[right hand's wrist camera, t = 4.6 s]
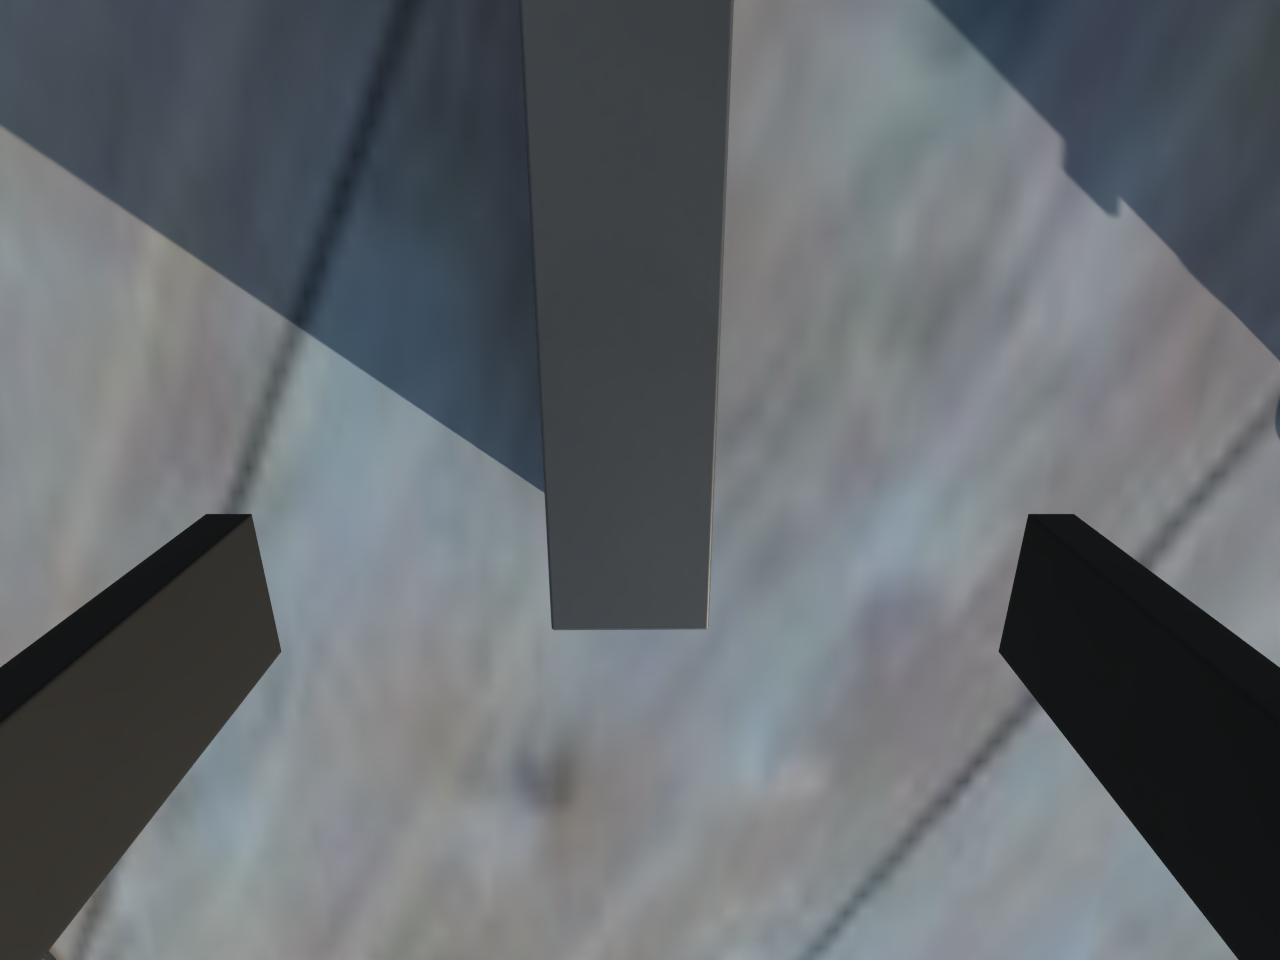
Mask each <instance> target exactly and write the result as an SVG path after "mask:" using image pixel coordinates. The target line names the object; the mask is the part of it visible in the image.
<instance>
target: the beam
mask: <svg viewBox="0 0 1280 960" xmlns="http://www.w3.org/2000/svg"><path fill="white" fill-rule="evenodd" d="M519 6H520V26H521V45H522V64H523V84H524V103H525V122H526V141H527V161H528V180H529V199H530V219H531V238H532V257H533V276H534V296H535V315H536V334H537V354H538V373H539V392H540V411H541V431H542V450H543V469H544V489H545V508H546V527H547V546H548V566H549V585H550V604H551V624H552V629H553V630H664V629H707V628H708V626H709V603H710V578H711V553H712V528H713V503H714V478H715V453H716V429H717V404H718V379H719V354H720V329H721V304H722V280H723V255H724V230H725V205H726V180H727V155H728V130H729V106H730V81H731V56H732V31H733V6H734V0H519Z"/></svg>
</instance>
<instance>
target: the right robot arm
mask: <svg viewBox="0 0 1280 960" xmlns="http://www.w3.org/2000/svg"><path fill="white" fill-rule="evenodd" d="M280 653H281V648H280V643H279V639H278V634H277V629H276V625H275V620H274V616H273V611H272V606H271V602H270V597H269V593H268V588H267V583H266V579H265V574H264V569H263V565H262V560H261V556H260V551H259V546H258V542H257V537H256V533H255V528H254V523H253V519H252V514H206V515H204V516H203V517H202V518H200V519H199V520H198V521H196V522H195V523H194V524H192V525H191V526H190V527H188V528H187V529H186V530H184V531H183V532H182V533H180V534H179V535H178V536H176V537H175V538H174V539H172V540H171V541H170V542H168V543H167V544H165V545H164V546H163V547H161V548H160V549H159V550H157V551H156V552H155V553H153V554H152V555H151V556H149V557H148V558H147V559H145V560H144V561H143V562H141V563H140V564H139V565H137V566H136V567H135V568H133V569H132V570H131V571H129V572H128V573H127V574H125V575H124V576H123V577H121V578H120V579H119V580H117V581H116V582H115V583H113V584H112V585H110V586H109V587H108V588H106V589H105V590H104V591H102V592H101V593H100V594H98V595H97V596H96V597H94V598H93V599H92V600H90V601H89V602H88V603H86V604H85V605H84V606H82V607H81V608H80V609H78V610H77V611H76V612H74V613H73V614H72V615H70V616H69V617H68V618H66V619H65V620H64V621H62V622H61V623H59V624H58V625H57V626H55V627H54V628H53V629H51V630H50V631H49V632H47V633H46V634H45V635H43V636H42V637H41V638H39V639H38V640H37V641H35V642H34V643H33V644H31V645H30V646H29V647H27V648H26V649H25V650H23V651H22V652H21V653H19V654H18V655H17V656H15V657H14V658H13V659H11V660H10V661H9V662H7V663H6V664H4V665H3V666H2V667H0V960H56V959H55V958H54V956H53V955H52V954H51V953H50V952H49V949H50V948H51V947H52V945H53V944H54V943H55V942H56V940H57V939H58V938H59V936H60V935H61V934H62V933H63V931H64V930H65V929H66V927H67V926H68V925H69V924H70V922H71V921H72V920H73V918H74V917H75V916H76V915H77V913H78V912H79V911H80V909H81V908H82V907H83V906H84V904H85V903H86V902H87V900H88V899H89V898H90V897H91V895H92V894H93V893H94V891H95V890H96V889H97V888H98V886H99V885H100V884H101V882H102V881H103V880H104V879H105V877H106V876H107V875H108V874H109V872H110V871H111V870H112V868H113V867H114V866H115V865H116V863H117V862H118V861H119V859H120V858H121V857H122V856H123V854H124V853H125V852H126V850H127V849H128V848H129V847H130V845H131V844H132V843H133V841H134V840H135V839H136V838H137V836H138V835H139V834H140V832H141V831H142V830H143V829H144V827H145V826H146V825H147V823H148V822H149V821H150V820H151V818H152V817H153V816H154V814H155V813H156V812H157V811H158V809H159V808H160V807H161V805H162V804H163V803H164V802H165V800H166V799H167V798H168V796H169V795H170V794H171V793H172V791H173V790H174V789H175V787H176V786H177V785H178V784H179V782H180V781H181V780H182V778H183V777H184V776H185V775H186V773H187V772H188V771H189V769H190V768H191V767H192V766H193V764H194V763H195V762H196V760H197V759H198V758H199V757H200V755H201V754H202V753H203V751H204V750H205V749H206V748H207V746H208V745H209V744H210V742H211V741H212V740H213V739H214V737H215V736H216V735H217V734H218V732H219V731H220V730H221V728H222V727H223V726H224V725H225V723H226V722H227V721H228V719H229V718H230V717H231V716H232V714H233V713H234V712H235V710H236V709H237V708H238V707H239V705H240V704H241V703H242V701H243V700H244V699H245V698H246V696H247V695H248V694H249V692H250V691H251V690H252V689H253V687H254V686H255V685H256V683H257V682H258V681H259V680H260V678H261V677H262V676H263V674H264V673H265V672H266V671H267V669H268V668H269V667H270V665H271V664H272V663H273V662H274V660H275V659H276V658H277V656H278V655H279V654H280ZM999 653H1000V654H1001V655H1002V656H1003V658H1004V659H1005V660H1006V662H1007V663H1008V664H1009V665H1010V667H1011V668H1012V669H1013V671H1014V672H1015V673H1016V674H1017V676H1018V677H1019V678H1020V680H1021V681H1022V682H1023V683H1024V685H1025V686H1026V687H1027V689H1028V690H1029V691H1030V692H1031V694H1032V695H1033V696H1034V698H1035V699H1036V700H1037V701H1038V703H1039V704H1040V705H1041V707H1042V708H1043V709H1044V710H1045V712H1046V713H1047V714H1048V716H1049V717H1050V718H1051V719H1052V721H1053V722H1054V723H1055V725H1056V726H1057V727H1058V728H1059V730H1060V731H1061V732H1062V734H1063V735H1064V736H1065V737H1066V739H1067V740H1068V741H1069V743H1070V744H1071V745H1072V746H1073V748H1074V749H1075V750H1076V751H1077V753H1078V754H1079V755H1080V757H1081V758H1082V759H1083V760H1084V762H1085V763H1086V764H1087V766H1088V767H1089V768H1090V769H1091V771H1092V772H1093V773H1094V775H1095V776H1096V777H1097V778H1098V780H1099V781H1100V782H1101V784H1102V785H1103V786H1104V787H1105V789H1106V790H1107V791H1108V793H1109V794H1110V795H1111V796H1112V798H1113V799H1114V800H1115V802H1116V803H1117V804H1118V805H1119V807H1120V808H1121V809H1122V811H1123V812H1124V813H1125V814H1126V816H1127V817H1128V818H1129V820H1130V821H1131V822H1132V823H1133V825H1134V826H1135V827H1136V829H1137V830H1138V831H1139V832H1140V834H1141V835H1142V836H1143V838H1144V839H1145V840H1146V841H1147V843H1148V844H1149V845H1150V847H1151V848H1152V849H1153V850H1154V852H1155V853H1156V854H1157V856H1158V857H1159V858H1160V859H1161V861H1162V862H1163V863H1164V865H1165V866H1166V867H1167V868H1168V870H1169V871H1170V872H1171V874H1172V875H1173V876H1174V877H1175V879H1176V880H1177V881H1178V882H1179V884H1180V885H1181V886H1182V888H1183V889H1184V890H1185V891H1186V893H1187V894H1188V895H1189V897H1190V898H1191V899H1192V900H1193V902H1194V903H1195V904H1196V906H1197V907H1198V908H1199V909H1200V911H1201V912H1202V913H1203V915H1204V916H1205V917H1206V918H1207V920H1208V921H1209V922H1210V924H1211V925H1212V926H1213V927H1214V929H1215V930H1216V931H1217V933H1218V934H1219V935H1220V936H1221V938H1222V939H1223V940H1224V942H1225V943H1226V944H1227V945H1228V947H1229V948H1230V949H1231V951H1232V952H1233V953H1234V954H1235V956H1236V957H1237V958H1238V960H1280V667H1278V666H1277V665H1276V664H1274V663H1273V662H1271V661H1270V660H1269V659H1267V658H1266V657H1265V656H1263V655H1262V654H1261V653H1259V652H1258V651H1257V650H1255V649H1254V648H1253V647H1251V646H1250V645H1249V644H1247V643H1246V642H1245V641H1243V640H1242V639H1241V638H1239V637H1238V636H1237V635H1235V634H1234V633H1233V632H1231V631H1230V630H1229V629H1227V628H1226V627H1225V626H1223V625H1222V624H1221V623H1219V622H1218V621H1216V620H1215V619H1214V618H1212V617H1211V616H1210V615H1208V614H1207V613H1206V612H1204V611H1203V610H1202V609H1200V608H1199V607H1198V606H1196V605H1195V604H1194V603H1192V602H1191V601H1190V600H1188V599H1187V598H1186V597H1184V596H1183V595H1182V594H1180V593H1179V592H1178V591H1176V590H1175V589H1174V588H1172V587H1171V586H1170V585H1168V584H1167V583H1165V582H1164V581H1163V580H1161V579H1160V578H1159V577H1157V576H1156V575H1155V574H1153V573H1152V572H1151V571H1149V570H1148V569H1147V568H1145V567H1144V566H1143V565H1141V564H1140V563H1139V562H1137V561H1136V560H1135V559H1133V558H1132V557H1131V556H1129V555H1128V554H1127V553H1125V552H1124V551H1123V550H1121V549H1120V548H1119V547H1117V546H1116V545H1115V544H1113V543H1112V542H1110V541H1109V540H1108V539H1106V538H1105V537H1104V536H1102V535H1101V534H1100V533H1098V532H1097V531H1096V530H1094V529H1093V528H1092V527H1090V526H1089V525H1088V524H1086V523H1085V522H1084V521H1082V520H1081V519H1080V518H1078V517H1077V516H1076V515H1074V514H1028V519H1027V523H1026V528H1025V533H1024V537H1023V542H1022V546H1021V551H1020V556H1019V560H1018V565H1017V569H1016V574H1015V579H1014V583H1013V588H1012V593H1011V597H1010V602H1009V606H1008V611H1007V616H1006V620H1005V625H1004V629H1003V634H1002V639H1001V643H1000V648H999Z"/></svg>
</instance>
